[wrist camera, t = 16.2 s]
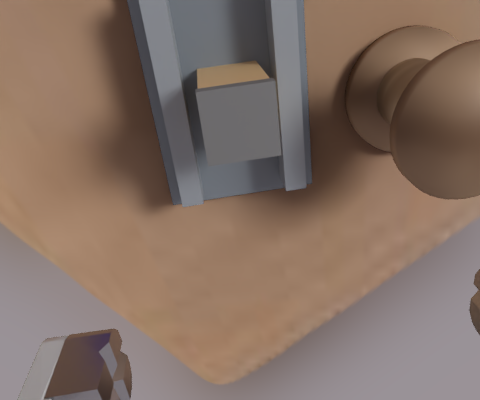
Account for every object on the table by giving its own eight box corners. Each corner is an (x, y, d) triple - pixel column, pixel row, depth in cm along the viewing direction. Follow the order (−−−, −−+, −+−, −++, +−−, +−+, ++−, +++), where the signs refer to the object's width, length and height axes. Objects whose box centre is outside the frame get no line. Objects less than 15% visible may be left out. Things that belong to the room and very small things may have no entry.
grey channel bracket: (123, -27, 26) (113, -29, 23) (297, -51, 26) (311, -56, 23) (173, 199, 33) (171, 221, 30) (309, 178, 34) (320, 197, 31)
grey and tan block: (195, 67, 28) (195, 92, 22) (257, 58, 28) (275, 80, 22) (205, 127, 30) (208, 166, 24) (263, 119, 30) (281, 155, 24)
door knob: (344, 35, 29) (401, 55, 21) (471, 16, 29) (574, 29, 21) (345, 155, 33) (392, 209, 25) (455, 138, 33) (537, 187, 25)
